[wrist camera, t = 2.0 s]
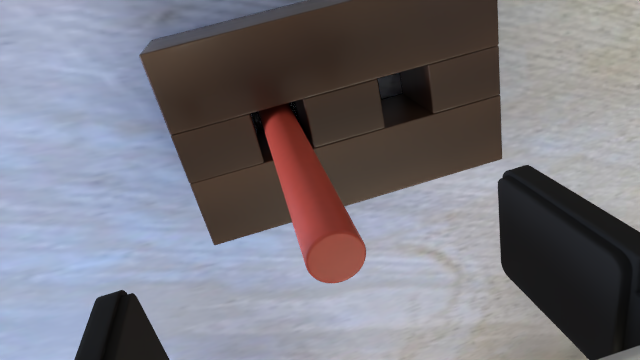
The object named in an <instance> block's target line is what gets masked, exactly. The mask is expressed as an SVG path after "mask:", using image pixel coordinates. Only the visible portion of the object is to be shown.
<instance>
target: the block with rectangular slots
mask: <svg viewBox="0 0 640 360" xmlns="http://www.w3.org/2000/svg"><path fill="white" fill-rule="evenodd" d="M498 44H499V42H498V9H497V0H308V1H304V2H300V3H296V4H292V5H288V6H284V7H280V8H276V9H272V10H268V11H264V12H260V13H257V14H253V15H249V16H245V17H241V18H237V19H233V20H229V21H225V22H221V23H217V24H213V25H209V26H206V27H202V28H198V29H194V30H190V31H186V32H182V33H178V34H174V35H170V36H166V37H162V38H158V39H155V40H152V41H151V42H150V43H149V44H148V45H147V47H146V48H145V49H144V50H143V51H142V52H141V54H140V55H139V57H140V59H141V62H142V64H143V67H144V69H145V72H146V74H147V77H148V79H149V82H150V84H151V87H152V90H153V92H154V95H155V97H156V100H157V102H158V105H159V107H160V110H161V112H162V115H163V117H164V120H165V122H166V125H167V127H168V130H169V132H170V134H171V138H172V140H173V143H174V145H175V148H176V150H177V153H178V155H179V158H180V160H181V163H182V165H183V168H184V171H185V173H186V176H187V178H188V181H189V183H190V186H191V188H192V191H193V193H194V196H195V198H196V201H197V203H198V206H199V208H200V211H201V213H202V216H203V218H204V221H205V223H206V226H207V228H208V231H209V233H210V236H211V239H212V241H213V244H214V245H217V244H221V243H224V242H227V241H231V240H234V239H237V238H241V237H244V236H247V235H251V234H254V233H257V232H261V231H264V230H267V229H271V228H274V227H277V226H281V225H284V224H287V223H291V222H292V219H291V216H290V213H289V210H288V206H287V203H286V200H285V197H284V193H283V190H282V187H281V184H280V180H279V177H278V174H277V171H276V167H275V164H274V161H273V158H272V154H271V151H270V148H269V145H268V141H267V138H266V135H265V133H261V134H258V135H257V132H256V129H255V125H254V122H253V119H252V115H251V113H254V112H257V111H261V110H265V109H268V108H272V107H275V106H279V105H283V104H286V103H290V102H294V101H295V103H296V108H297V112H298V116H299V120H300V122H301V123H299V124H300V126H301V128H302V130H303V132H304V134H305V135H306V137H307V139H308V141H309V143H310V145H311V146H312V148H313V150H314V152H315V154H316V156H317V157H318V159H319V161H320V163H321V165H322V167H323V169H324V170H325V172H326V174H327V176H328V178H329V180H330V181H331V183H332V185H333V187H334V189H335V191H336V192H337V194H338V196H339V198H340V200H341V202H342V203H343V205H344V206H347V205H350V204H354V203H357V202H360V201H364V200H367V199H370V198H374V197H377V196H380V195H384V194H387V193H390V192H394V191H397V190H400V189H404V188H407V187H410V186H414V185H417V184H420V183H424V182H427V181H430V180H434V179H437V178H440V177H444V176H447V175H450V174H453V173H457V172H460V171H463V170H467V169H470V168H473V167H477V166H480V165H483V164H487V163H490V162H493V161H497V160H500V159H502V140H501V107H500V95H499V94H500V79H499V47H498V46H497V45H498ZM399 72H400V77H401V84H402V92H403V94H401V95H397V96H394V97H390V98H386V99H383V100H381V98H380V92H379V86H378V80H377V78H381V77H384V76H388V75H392V74H395V73H399Z"/></svg>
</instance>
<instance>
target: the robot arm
mask: <svg viewBox="0 0 640 360" xmlns="http://www.w3.org/2000/svg"><path fill="white" fill-rule="evenodd" d="M498 199H499V224H500V248H501V264H502V267H503V270H504V272H505V273H506V275H507V276H508V277H509V278H510V279H511V280H512V281H513V282H514V283H515V284H516V285H517V286H518V287H519V288H520V289H521V290H522V291H523V292H524V293H525V294H526V295H527V296H528V297H529V298H530V299H531V300H532V302H533V303H534V304H535V305H536V306H537V307H538V308H539V309H540V310H541V311H542V312H543V313H544V314H545V315H546V316H547V317H548V318H549V319H550V320H551V321H552V322H553V323H554V324H555V325H556V326H557V327H558V328H559V329H560V330H561V331H562V332H563V333H564V334H565V335H566V336H567V337H568V338H569V339H570V340H571V341H572V342H573V343H574V344H575V345H576V346H577V348H578V349H579V350H580V351H581V352H582V353H583V354H584V355H585V356H586V357H587V358H588V359H589V360H640V232H639V231H637V230H635V229H634V228H632V227H630V226H629V225H627V224H625V223H624V222H622V221H620V220H619V219H617V218H615V217H614V216H612V215H610V214H609V213H607V212H605V211H604V210H602V209H601V208H599V207H597V206H596V205H594V204H592V203H591V202H589V201H587V200H586V199H584V198H582V197H581V196H579V195H577V194H576V193H574V192H572V191H571V190H569V189H567V188H566V187H564V186H562V185H561V184H559V183H558V182H556V181H554V180H553V179H551V178H549V177H548V176H546V175H544V174H543V173H541V172H539V171H538V170H536V169H534V168H533V167H531V166H529V165H525V166H521V167H518V168H515V169H512V170H508V171H506V172H505V173H504V174H503V178H502V179H500V180H499V181H498ZM75 360H169V358H168V356H167V354H166V352H165V350H164V348H163V346H162V345H161V343H160V341H159V339H158V337H157V335H156V333H155V331H154V329H153V327H152V325H151V323H150V322H149V320H148V318H147V316H146V314H145V312H144V310H143V308H142V306H141V304H140V302H139V301H138V299H137V297H136V295H135V294H133V293H131V294H127V293H126V292H125V291H123V290H120V291H117V292H114V293H111V294H107V295H104V296H101V297H98V298H97V299H96V301H95V303H94V306H93V309H92V312H91V314H90V317H89V320H88V323H87V326H86V329H85V331H84V334H83V337H82V340H81V343H80V346H79V348H78V351H77V354H76V357H75Z"/></svg>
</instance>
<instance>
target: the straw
mask: <svg viewBox="0 0 640 360" xmlns="http://www.w3.org/2000/svg"><path fill="white" fill-rule="evenodd" d="M258 112H259V115H260V119H261V122H262V125H263V128H264V132H265V135H266V138H267V141H268V145H269V148H270V151H271V154H272V158H273V161H274V164H275V167H276V171H277V174H278V177H279V180H280V184H281V187H282V190H283V193H284V197H285V200H286V203H287V206H288V210H289V213H290V216H291V219H292V223H293V226H294V229H295V232H296V236H297V239H298V242H299V245H300V249H301V252H302V255H303V258H304V262H305V265H306V268H307V270H308V272H309V273H310V274H311V275H312V276H313V277H314V278H315V279H317V280H319V281H321V282H325V283H338V282H342V281H345V280H347V279H349V278H351V277H352V276H354V275H355V274H356V273H357V272H358V271H359V270H360V269H361V267H362V266H363V263H364V261H365V257H366V247H365V244H364V242H363V240H362V238H361V237H360V235H359V233H358V231H357V229H356V227H355V226H354V224H353V222H352V220H351V218H350V216H349V214H348V213H347V211H346V209H345V207H344V205H343V203H342V202H341V200H340V198H339V196H338V194H337V192H336V191H335V189H334V187H333V185H332V183H331V181H330V180H329V178H328V176H327V174H326V172H325V170H324V169H323V167H322V165H321V163H320V161H319V159H318V157H317V156H316V154H315V152H314V150H313V148H312V146H311V145H310V143H309V141H308V139H307V137H306V135H305V134H304V132H303V130H302V128H301V126H300V124H299V123H298V121H297V119H296V117H295V115H294V113H293V112H292V110H291V108H290V106H289V104H288V103H286V104H283V105H279V106H275V107H272V108H268V109H265V110H261V111H258Z"/></svg>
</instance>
